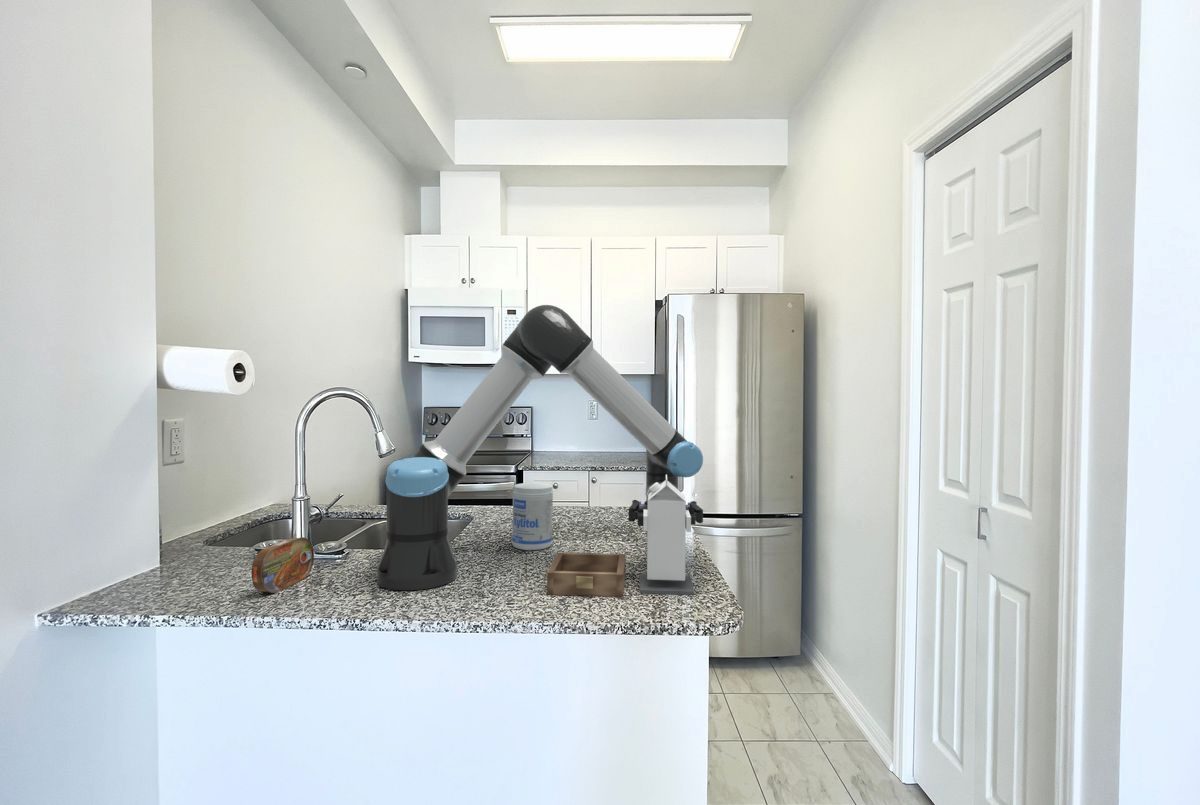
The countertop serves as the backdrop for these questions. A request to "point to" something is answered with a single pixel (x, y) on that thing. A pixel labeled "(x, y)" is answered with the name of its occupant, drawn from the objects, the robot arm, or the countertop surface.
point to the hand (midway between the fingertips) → (667, 524)
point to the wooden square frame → (587, 574)
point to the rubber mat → (666, 586)
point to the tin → (282, 565)
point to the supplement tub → (532, 516)
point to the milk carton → (666, 533)
